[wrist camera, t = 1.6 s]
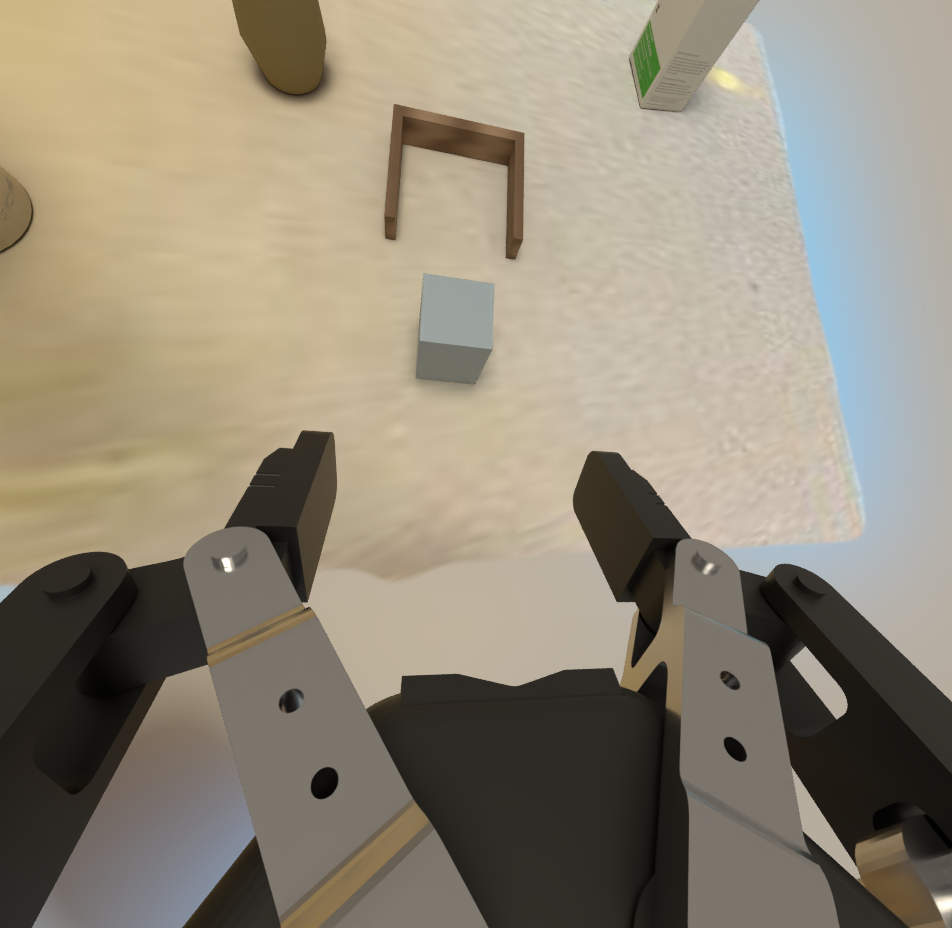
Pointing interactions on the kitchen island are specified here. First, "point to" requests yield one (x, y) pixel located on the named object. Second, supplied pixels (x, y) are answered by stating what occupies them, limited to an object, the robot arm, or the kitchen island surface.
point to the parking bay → (460, 141)
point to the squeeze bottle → (284, 41)
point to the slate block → (454, 329)
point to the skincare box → (683, 48)
